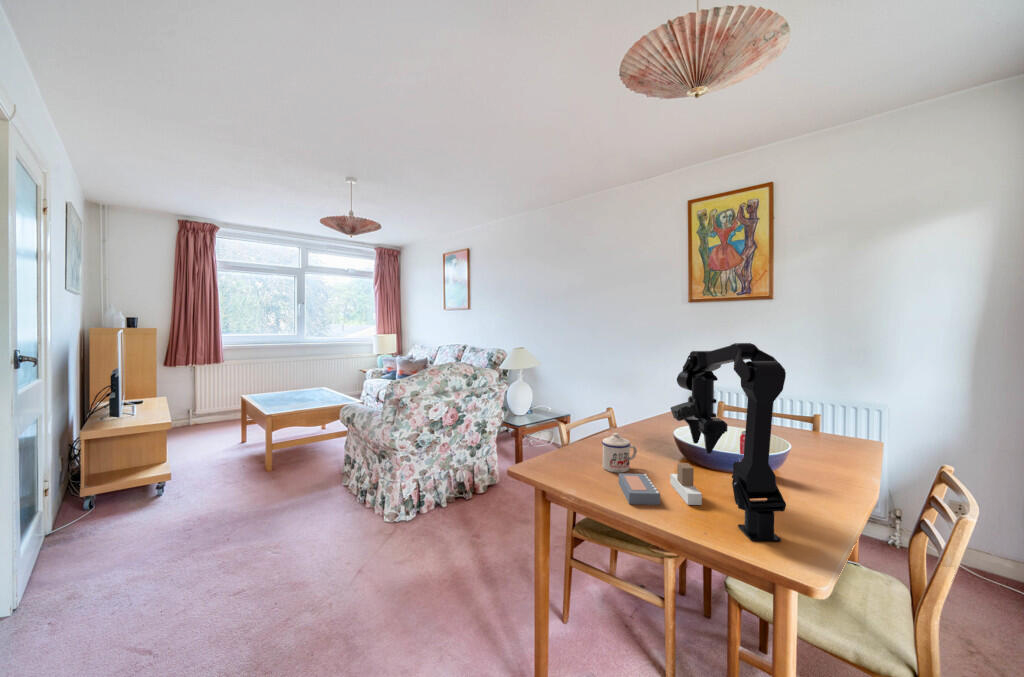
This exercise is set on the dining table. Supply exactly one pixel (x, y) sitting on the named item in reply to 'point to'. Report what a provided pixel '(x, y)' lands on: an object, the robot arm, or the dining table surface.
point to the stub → (686, 484)
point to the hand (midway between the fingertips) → (701, 448)
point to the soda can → (742, 442)
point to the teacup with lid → (617, 453)
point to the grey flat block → (639, 489)
